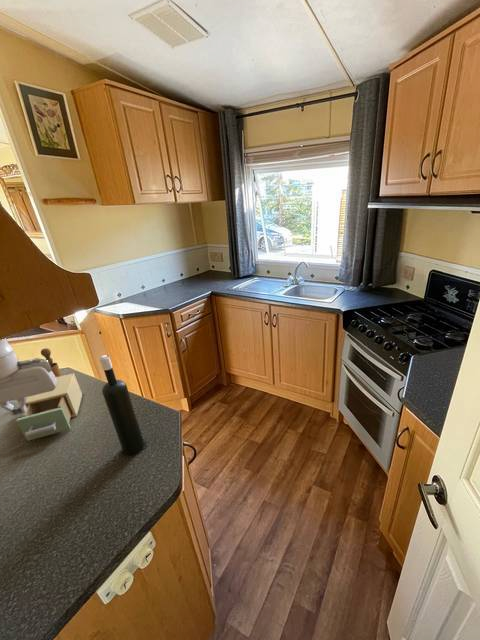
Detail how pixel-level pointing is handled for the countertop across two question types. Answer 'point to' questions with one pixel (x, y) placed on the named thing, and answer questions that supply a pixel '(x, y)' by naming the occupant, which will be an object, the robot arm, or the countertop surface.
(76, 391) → the cabinet
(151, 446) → the countertop surface
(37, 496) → the countertop surface
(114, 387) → the wine bottle
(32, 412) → the drawer
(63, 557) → the countertop surface
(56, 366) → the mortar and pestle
